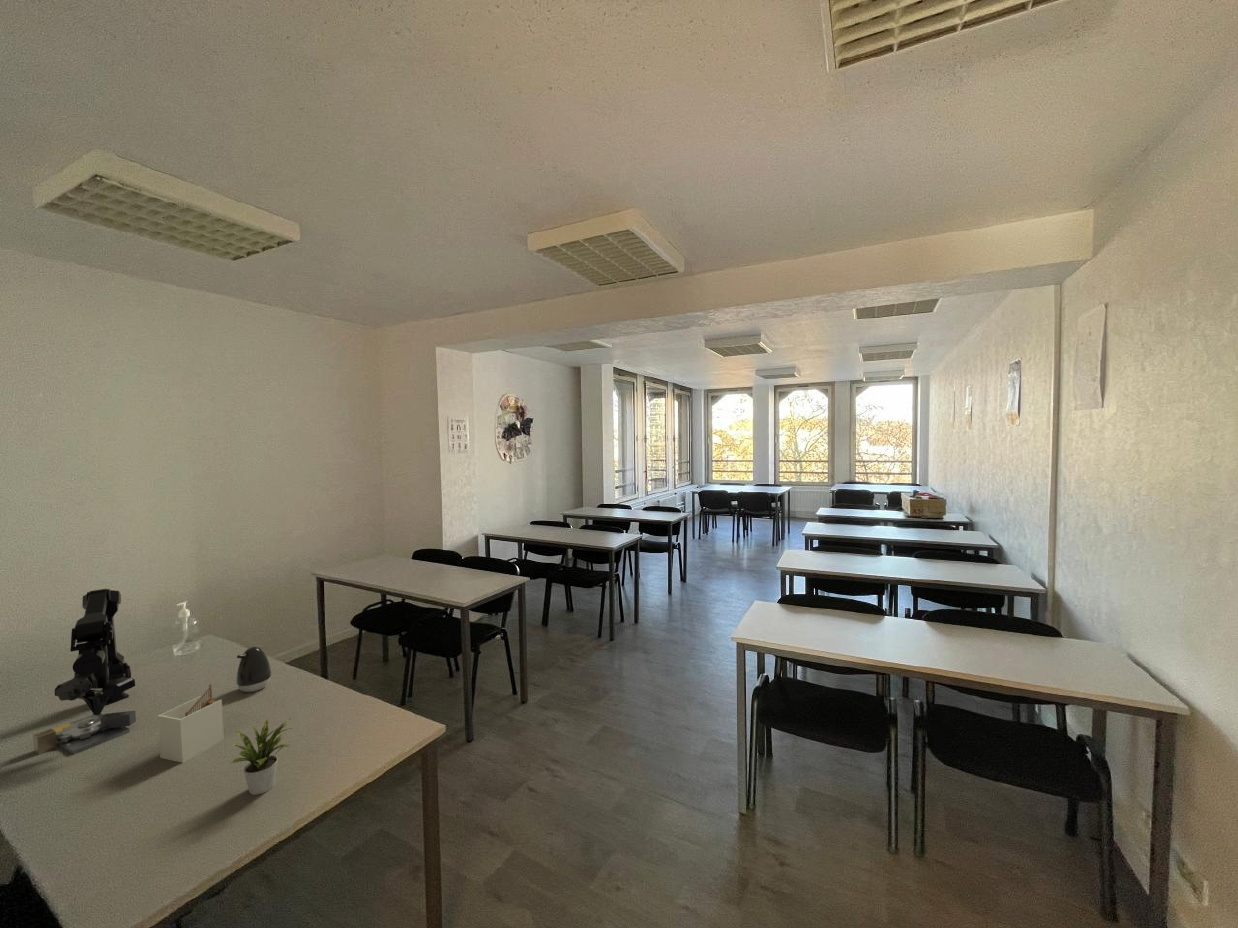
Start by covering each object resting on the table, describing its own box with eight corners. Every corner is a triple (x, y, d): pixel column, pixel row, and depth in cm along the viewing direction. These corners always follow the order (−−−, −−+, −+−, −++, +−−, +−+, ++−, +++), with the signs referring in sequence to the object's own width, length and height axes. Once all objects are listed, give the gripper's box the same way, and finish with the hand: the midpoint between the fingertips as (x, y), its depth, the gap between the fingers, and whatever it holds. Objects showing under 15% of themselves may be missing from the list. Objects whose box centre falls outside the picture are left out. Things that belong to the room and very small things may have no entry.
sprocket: (42, 745, 142) (41, 732, 142) (79, 721, 154) (78, 709, 154) (117, 736, 146) (116, 723, 146) (147, 713, 158) (147, 701, 158)
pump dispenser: (228, 693, 172) (226, 651, 171) (258, 680, 182) (256, 639, 181) (250, 697, 169) (247, 654, 168) (279, 683, 179) (276, 642, 178)
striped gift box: (34, 751, 141) (32, 734, 141) (52, 744, 144) (50, 728, 144) (38, 754, 140) (37, 737, 139) (56, 747, 143) (55, 731, 143)
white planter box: (224, 740, 146) (221, 686, 145) (183, 764, 135) (179, 705, 134) (203, 736, 148) (199, 682, 147) (160, 759, 137) (156, 701, 137)
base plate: (44, 735, 149) (43, 731, 149) (99, 715, 160) (98, 712, 160) (73, 754, 139) (72, 750, 139) (129, 731, 150) (129, 728, 150)
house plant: (304, 788, 124) (301, 725, 123) (235, 818, 114) (231, 750, 113) (292, 762, 134) (289, 704, 133) (227, 788, 124) (224, 726, 124)
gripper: (29, 676, 137) (33, 730, 137) (94, 675, 136) (98, 730, 137) (75, 658, 148) (78, 709, 148) (135, 658, 147) (138, 708, 148)
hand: (97, 714), depth 145 cm, fingers closed
